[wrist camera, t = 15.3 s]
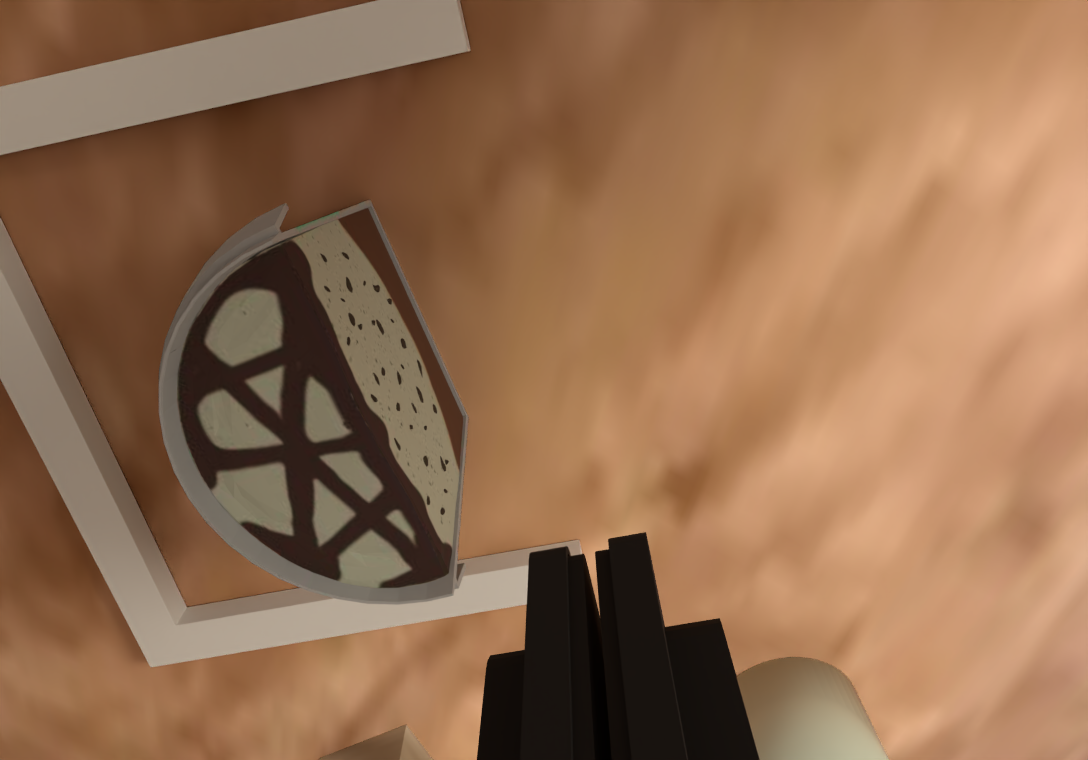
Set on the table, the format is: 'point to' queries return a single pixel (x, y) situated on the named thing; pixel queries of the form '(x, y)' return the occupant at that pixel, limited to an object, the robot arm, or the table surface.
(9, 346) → the corral
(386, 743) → the birch block
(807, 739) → the pale green cylinder
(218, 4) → the table surface
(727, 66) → the table surface
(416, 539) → the food container
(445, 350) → the table surface
